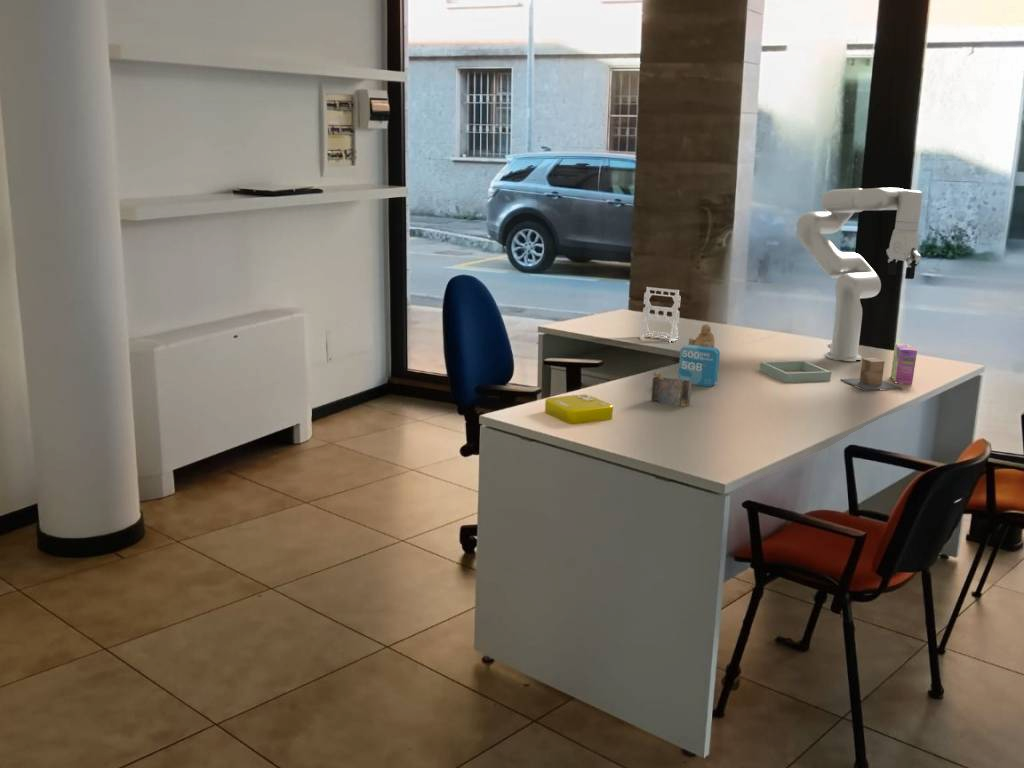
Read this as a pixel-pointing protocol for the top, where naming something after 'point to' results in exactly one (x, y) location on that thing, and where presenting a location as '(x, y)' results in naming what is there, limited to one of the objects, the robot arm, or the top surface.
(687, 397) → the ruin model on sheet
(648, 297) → the film strip holder
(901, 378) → the box
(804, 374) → the green square frame
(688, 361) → the data package
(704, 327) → the statue
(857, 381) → the mat
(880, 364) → the block
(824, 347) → the top surface
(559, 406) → the element tile
